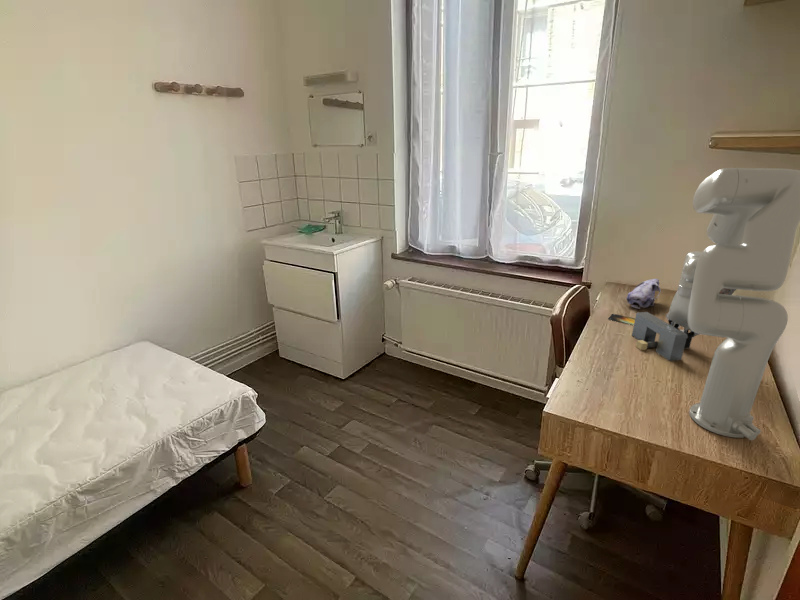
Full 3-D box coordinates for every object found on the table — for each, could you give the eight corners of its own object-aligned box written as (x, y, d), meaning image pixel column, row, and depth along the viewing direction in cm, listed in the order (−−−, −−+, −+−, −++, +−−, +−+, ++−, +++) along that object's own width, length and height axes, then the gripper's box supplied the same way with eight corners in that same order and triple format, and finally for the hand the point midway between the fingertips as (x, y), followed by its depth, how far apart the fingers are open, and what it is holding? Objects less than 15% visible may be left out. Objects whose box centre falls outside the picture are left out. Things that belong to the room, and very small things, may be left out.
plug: (689, 348, 141) (692, 335, 140) (642, 351, 139) (645, 338, 137) (679, 341, 145) (682, 329, 144) (633, 345, 143) (636, 332, 142)
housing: (681, 359, 134) (687, 334, 131) (669, 360, 133) (675, 335, 130) (642, 334, 150) (647, 312, 147) (631, 335, 150) (636, 312, 147)
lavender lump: (666, 304, 177) (671, 281, 174) (645, 314, 168) (650, 289, 164) (641, 297, 185) (646, 275, 181) (620, 306, 175) (625, 283, 171)
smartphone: (612, 313, 168) (656, 322, 159) (611, 315, 168) (655, 324, 160) (607, 319, 163) (652, 329, 154) (607, 320, 163) (652, 330, 154)
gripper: (724, 300, 129) (709, 355, 136) (682, 282, 145) (670, 332, 151) (701, 301, 128) (687, 357, 135) (661, 283, 144) (650, 334, 150)
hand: (678, 343), depth 143 cm, fingers closed on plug, 4 cm apart
